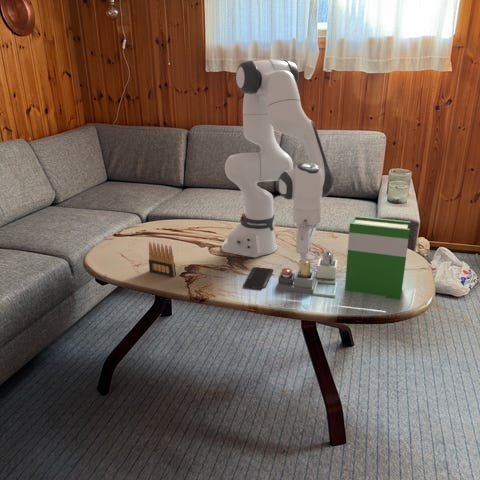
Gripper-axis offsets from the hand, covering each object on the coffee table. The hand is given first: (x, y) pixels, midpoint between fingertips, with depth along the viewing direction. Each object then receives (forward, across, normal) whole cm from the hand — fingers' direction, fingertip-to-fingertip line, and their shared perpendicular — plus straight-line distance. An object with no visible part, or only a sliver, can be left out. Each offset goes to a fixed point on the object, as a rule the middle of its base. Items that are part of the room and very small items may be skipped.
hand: (306, 256), depth 150 cm
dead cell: (+11, +12, -6) cm, 17 cm away
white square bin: (+12, +12, -6) cm, 18 cm away
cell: (+10, +1, 0) cm, 10 cm away
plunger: (+9, +1, +6) cm, 11 cm away
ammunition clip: (+12, 0, +52) cm, 53 cm away
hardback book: (+12, +5, -22) cm, 26 cm away
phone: (+12, +4, +17) cm, 21 cm away
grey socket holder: (+12, +1, +3) cm, 12 cm away
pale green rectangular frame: (+12, +1, -7) cm, 14 cm away
